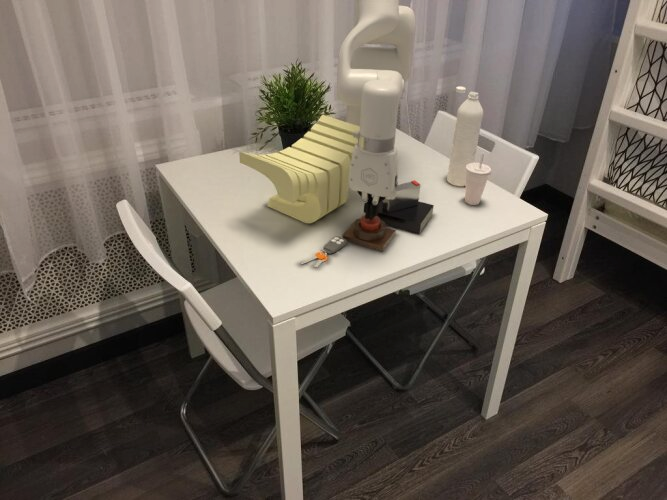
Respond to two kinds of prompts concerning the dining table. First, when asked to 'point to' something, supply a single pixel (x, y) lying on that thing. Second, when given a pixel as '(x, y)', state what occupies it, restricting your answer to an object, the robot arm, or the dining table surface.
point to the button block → (369, 236)
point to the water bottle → (465, 138)
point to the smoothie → (476, 181)
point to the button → (370, 223)
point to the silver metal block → (403, 197)
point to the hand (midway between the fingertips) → (370, 216)
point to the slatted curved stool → (310, 170)
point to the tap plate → (408, 217)
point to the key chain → (328, 249)
